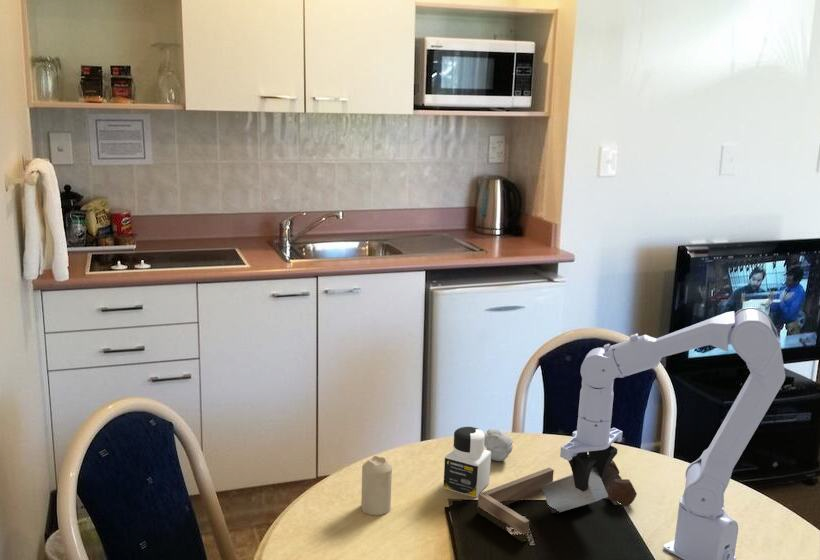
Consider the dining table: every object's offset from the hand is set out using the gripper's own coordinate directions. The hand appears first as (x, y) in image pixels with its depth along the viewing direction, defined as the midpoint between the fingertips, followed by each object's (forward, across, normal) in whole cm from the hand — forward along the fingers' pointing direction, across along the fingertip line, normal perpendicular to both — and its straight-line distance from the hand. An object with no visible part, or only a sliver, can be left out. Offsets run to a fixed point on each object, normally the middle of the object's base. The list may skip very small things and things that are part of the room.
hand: (588, 485), depth 139 cm
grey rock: (+8, -5, -28) cm, 30 cm away
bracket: (+5, -3, -2) cm, 6 cm away
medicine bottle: (+8, +8, -24) cm, 26 cm away
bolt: (+9, -16, -7) cm, 20 cm away
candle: (+8, +28, -26) cm, 39 cm away
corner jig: (+8, +4, -9) cm, 12 cm away
